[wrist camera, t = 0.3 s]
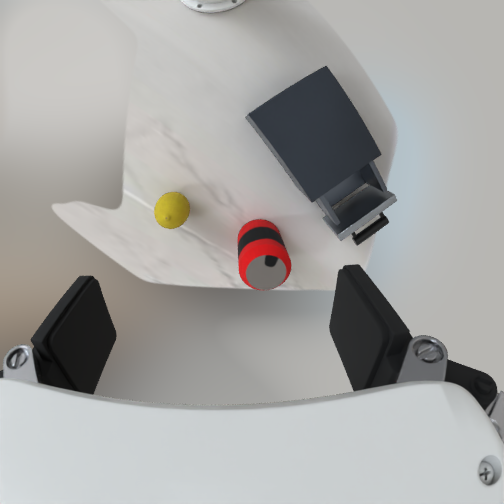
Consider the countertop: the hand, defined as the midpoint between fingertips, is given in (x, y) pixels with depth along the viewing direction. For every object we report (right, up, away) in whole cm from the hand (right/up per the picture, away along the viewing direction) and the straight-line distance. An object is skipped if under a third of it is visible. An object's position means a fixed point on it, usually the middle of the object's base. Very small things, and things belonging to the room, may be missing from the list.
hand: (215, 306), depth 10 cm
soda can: (+3, +4, +39) cm, 39 cm away
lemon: (-11, +10, +35) cm, 38 cm away
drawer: (+16, +13, +34) cm, 40 cm away
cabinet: (+10, +22, +31) cm, 39 cm away
